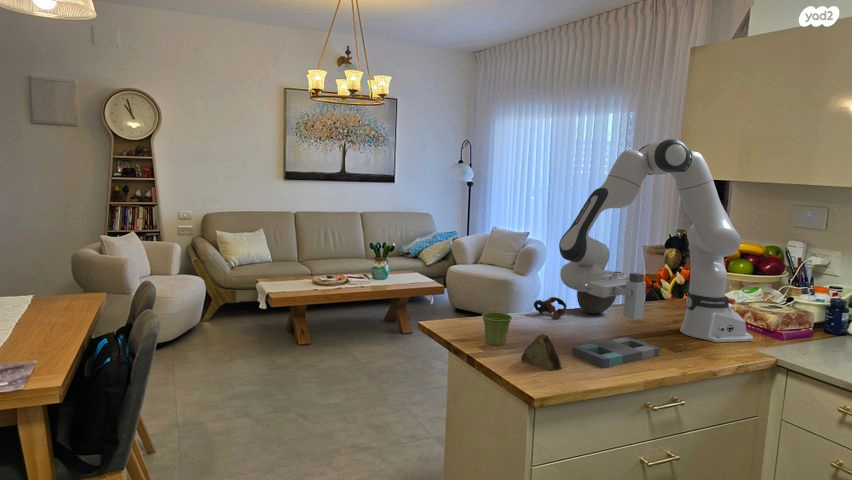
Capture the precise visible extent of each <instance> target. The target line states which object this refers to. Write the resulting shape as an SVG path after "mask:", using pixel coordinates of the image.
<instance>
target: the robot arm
mask: <svg viewBox="0 0 852 480" xmlns="http://www.w3.org/2000/svg"><path fill="white" fill-rule="evenodd" d="M619 154H620V155H619V156H618V158H617V159H616V160H615V162H614V163H613V165H612V167H611V169H610V171H609V173H608V175H607V177H606V179H605V181H604V182H603V184H601V186H600V187H599V188H596V189H594V190H593V192H591V194H590V195H589V196H588V198H587V199H586V201H585V203H584V204H583V206H582V208H581V209H580V211H579V212H578V214H577V216H576V218H575V219H574V220H573V222H572V224H571V225H570V227H569V228H568V229H567V230H566V232H564V234H563V235H562V236H561V238H560V239H559V244H558V246H559V247H558V248H559V249H558V250H559V253H560V256H561V257H562V258H563V259H564V260H565V261H569V262H566V264H564V265H562V267H561V269H560V274H559V277H560V280H561V281H562V283H563V284H564V285H565V287H567V288H569V289H572V290H575V291H580V292H587V293H589V294H591V295H594V296H598V297H602V298H606V297H610V296H616V297H617V296H625V295H626V296H632V295H633V290H630V289H626V281H629V278H630V275H627V274H625V273H624V272H621V271H611V270H607V269H605V268H606V267H607V265H608V262H609V260H610V250H609V248H608V245H606V244H605V243H603V242H602V241H599V240H597V239H595V238H593V237H590V236H589V234H590V231H591V229H592V228H593V226H594V225H595V222H596V221H597V219H598V217H599V216H600V215H601V213H602V212H604V211H605V210H608V209H622V208H625V207H628V206H630V205H631V204H632V203H633V202H634V200H636V198H637V196H638V193H639V192H640V189H641V187H642V184H643V181H644V180H645V178H646V177H647V176H649V175H650V176H654V175H666V174H670V175H671V176H672V177H673V179H674V181H675V183H676V184H675V185H676V188H677V191H678V194H679V198H680V200H681V203H682V206H683V209H684V212H685V214H686V215H687V216H688V218H689V220H690V222H691V223H692V224H691V225H690V226H689V228H688V229H687V232H686V237H687V242H688V245H689V259H690V275H689V276H690V277H689V286H688V287H689V289H688V292H687V296H686V302H685V303H686V304H685V305H686V306H685V307H686V310H685V311H686V312H685V315H684V319H683V322H682V325H681V326H680V329H679V331H680V333H682V334H683V335H686V336H689V337H692V338H697V339H700V340H701V339H702V340H706V341H710V342H713V343H726V342H727V343H729V342H730V343H731V342H732V343H733V342H735V343H736V342H752V341H754V337H753V335H752V334H751V333H749V332H747V326H746V321H745V319H744V318H742V316H740V315H739V314H738V313H737V312H736V311H735V310H733V309H732V308H731V307H730V305H732V306H734V305H735V304H736V303H737V300H736V299H735V298H733V297H728V296H727V295H726V287H727V278H728V272H727V269H726V265H725V260H724V259H725V257H731V256H733V255H734V254H735V253H737V252H738V250H739V249H740V247H741V243H742V241H741V236H740V234H739V232H738V231H737V230H736V229H735V227H734V225H733V223H732V221H731V220H730V217H729V215H728V214H727V211H726V210H725V208H724V206H723V204H722V202H721V200H720V197H719V194H718V190H717V188H716V185H715V182H714V178H713V175H712V172H711V171H710V168H709V165H708V164H707V162H706V160H705V158H704V156H703V155H702V154H701V153H700V152H698V151H691V150H689V148H688V146H687V145H686V144H685V143H684V142H682V141H681V140H678V139H673V138H671V139H670V138H668V139H663V140H662V139H661V140H656V141H654V142H652V143H648V144H646V145H644V146H643V147H641V148H640V149H639V150H635V149H626V150H624V151H622V152H621V153H619ZM643 282H646V281H645V280H643Z"/></svg>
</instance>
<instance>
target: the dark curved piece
mask: <svg viewBox="0 0 852 480" xmlns="http://www.w3.org/2000/svg"><path fill="white" fill-rule="evenodd" d="M555 302H557V305H561V306H562V307H563V308H557V310H556V306H555V305H553V303H555ZM538 305H539V306H538ZM533 307H534V309H535V311H537V312H538V314H539V315H542V314H543V313H549V314H552V313H553V314H552V315H551V319H552V320H556V319H558V318H560V317H563V316H565V315H566V313H567V312H566V311H567V304H566V302H565V301H564V300H563V299H561V298H559V297H556V296H552V297H548V299H545V300H544V301H543V300H540V299H537V300H535V301H534V302H533Z"/></svg>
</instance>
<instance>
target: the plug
mask: <svg viewBox="0 0 852 480" xmlns="http://www.w3.org/2000/svg"><path fill="white" fill-rule="evenodd" d="M629 276H630V278H629V281H626V289H630V290H633V295H632V296H626V295H624V303H623V305H624V306H623V315H622V316H623V317H624V318H628V319H631V320H639V319H643V318H644V311H645V310H644V309H645V299H646V298H645V297H646V287H647V282H646V281H645V282H643V281H644V273H639V272H631V273H629Z"/></svg>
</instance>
